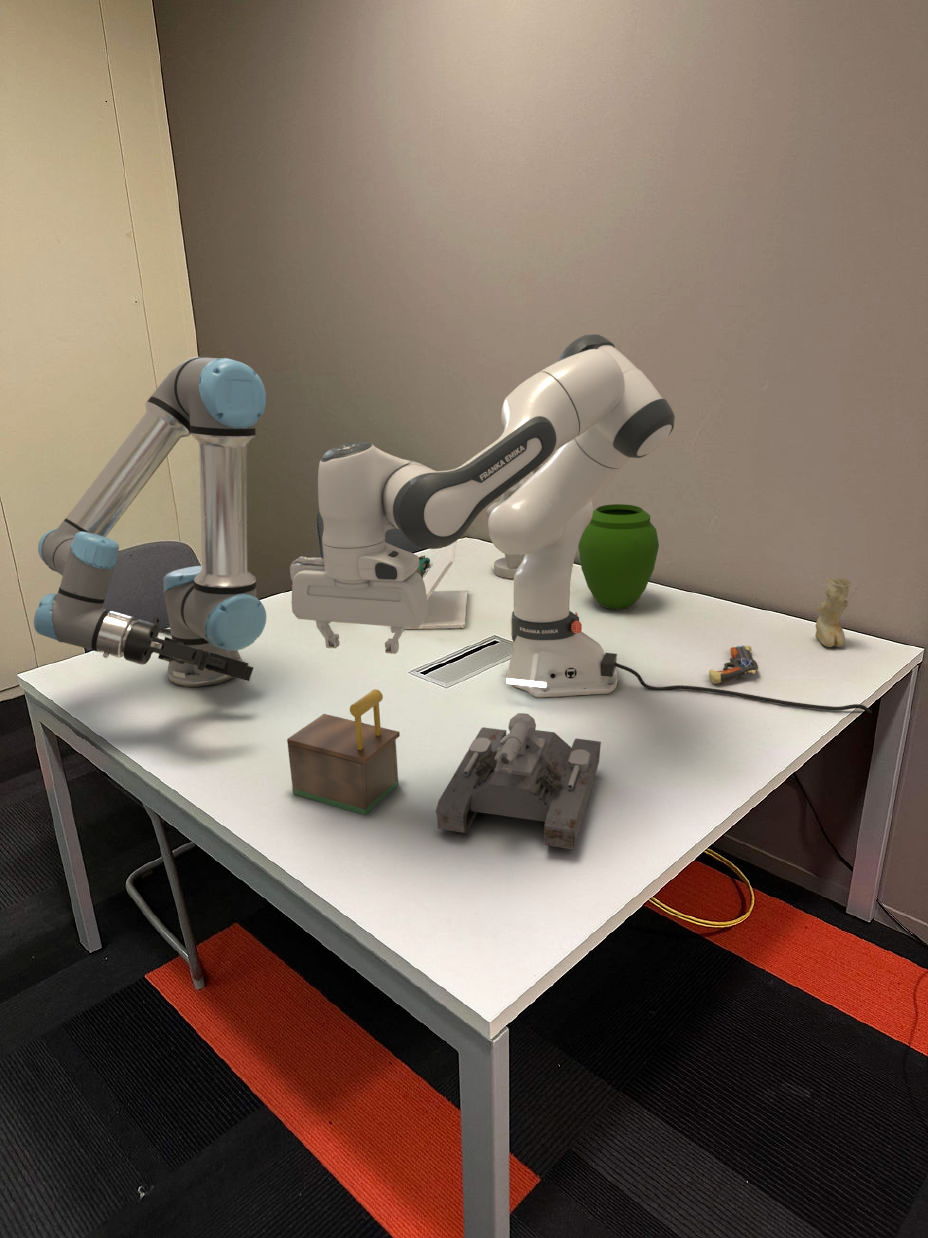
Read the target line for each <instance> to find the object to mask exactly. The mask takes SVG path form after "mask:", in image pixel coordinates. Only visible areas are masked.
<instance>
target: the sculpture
mask: <svg viewBox="0 0 928 1238" xmlns="http://www.w3.org/2000/svg"><path fill="white" fill-rule="evenodd" d="M826 581H827V586H826V588H825V590H824V593H825V595H826V596H827V598H826V600H824V601H822V602H821V603H820V604H819V605H818V606H817V609H816V610H817V612H818V614H819V616H818V617H817V619H816V623H815V630H816V631H815V634H814V635H815V639H817V640H819V642H820V643H821V644H822V645H823V646H825V647H827V648H832V647H834V646H835V647H843V646H844V645H845V643H846V642H845V641H846V636H845V632H844V630H843V626H842V624H841V622H840V621H841V617H842V615H843V612H844V610H845V609H846V608H847V606H848V604H849V603H848V602H849V601H847V598H848V597H849V592H850V586H851V585H852V582H850V580H848V579H847V578H845V577H841V576H840V577H835V578H831V577H827V578H826Z"/></svg>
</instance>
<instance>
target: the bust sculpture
mask: <svg viewBox="0 0 928 1238" xmlns="http://www.w3.org/2000/svg"><path fill="white" fill-rule="evenodd" d="M543 465H544V462H543V463H542V464H541V465H540V466H538V467H537V468H536V469H535V470H533V471H532V472H531V473H530V474H528V475H527V476H526V477H524V478H523V479H522V480H520V481H519V482H518V483H516V484H515V485H514V486H512V487H511V488H510V489H508V490H507V491H506V492H504V493H503V494H502V495H500V496H501V497H500V499H499V501H496V502H494V503H491V505H490V506H488V508H487V509H486V513H485V514H486V517H487V518H488V519H489V516H490V514H491V512H492V511H493V510H494V509H495V508H496V507H497V506H499V505H500V504H501V503H503V502H504V501H505V500H507V499H508V498H509V497H510V496H511V495H512V494H513V493H515V492H516V491H517V490H518V489H519V488H520V487H521V486H522V485H523V484H524V483H525V482H526V481H527V480H528V479H529V478H530V477H531V476H532V475H533V474H534V473H535V472H537V471H538V470H539V469H540V468H541V467H542V466H543ZM524 556H525V554H520V555H508V554H505V553H504V557H502V558H498V559H496V560H495V561H494V562H493V573H494V574H495V575H496V576H497V577H500V578H506V579H514V575H515V572H516V570H517V569H518V567H519V566H520V564H521V563H522V561H523V558H524Z"/></svg>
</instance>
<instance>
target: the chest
mask: <svg viewBox="0 0 928 1238" xmlns="http://www.w3.org/2000/svg"><path fill="white" fill-rule="evenodd" d="M287 751H288V759H289V761H288V762H289V768H290V778H291V788H292V795H295V796H299V797H301V798H306V799H309V800H312V801H315V802H319V803H322V804H323V803H324V804H326V805H329V806H333V807H336V808H339V809H343V810H346V811H349V812H353V813H357V814H359V815H364V816H367V815H368V813H369V812H371V811H372V810H373V809H374V808H376V806H378V804H379V803H380V802H381V801H382V800H384V799H385V798H386V797H387V796H388V795H389V794H391V793H392V792H393V791H394V790H395V789H396V788H398V786H399V785H400V783H399V771H398V770H399V769H398V754H397V739H396V740H394V741H393V742H392V743H391V744H390V745H388V746H387V747H386V748H385V749H384V750H382V751H381V752H380V753H379V754H378V755H376V756H375V757H374V758H373V759H371V760H370V761H369V762H368V763H367V764H363V763H359V762H355V761H351V760H347V759H344V758H340V757H336V756H332V755H328V754H325V753H321V752H317V751H313V750H309V749H306V748H302V747H298V746H294V745H290V744H287Z"/></svg>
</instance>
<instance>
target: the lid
mask: <svg viewBox="0 0 928 1238" xmlns="http://www.w3.org/2000/svg"><path fill="white" fill-rule="evenodd" d="M383 698H384V695H383V693H382V692H381V691H380V690H379V689H377V688H376V689H375V688H374V689H372V690H371V691H370V692H368V693H367V694H365V695H364V696H362V697H361V698H359V699H358V700H356V701H355V702H353V703H352V704H351V705H350V706H349V712H350V714H351V716H352V717H353V718H354V720H352V719H348V718H343V717H340V716H334V715H332V714H327V713H323V714H321V715H320V716H318V717H317V718H315V719H314V720H313V721H312V722H310V723H308V724H307V725H306V726H304V727H302V728H301V729H299V730H298V731H297V732H295V733H294V734H292V735H291V736H289V737H288V738H287V739H286V743H287V745H288V744H290V745H294V746H298V747H302V748H306V749H309V750H313V751H317V752H321V753H325V754H328V755H332V756H336V757H340V758H344V759H347V760H351V761H355V762H359V763H363V764H367V763H368V762H369V761H370V760H371V759H373V758H374V757H375V756H376V755H378V754H379V753H380V752H381V751H382V750H384V749H385V748H386V747H387V746H388V745H390V744H391V743H392V742H393V741H394V740H396V741H397V739H399V737H401V735H400V734H401V733H400V731H399V730H394V729H389V728H385V727H382V726H381V715H380V703H381V702H382V701H383ZM370 710H373V724H370V723H365V722H362V716H363V715H364V714H366V713H367V712H369V711H370Z"/></svg>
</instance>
